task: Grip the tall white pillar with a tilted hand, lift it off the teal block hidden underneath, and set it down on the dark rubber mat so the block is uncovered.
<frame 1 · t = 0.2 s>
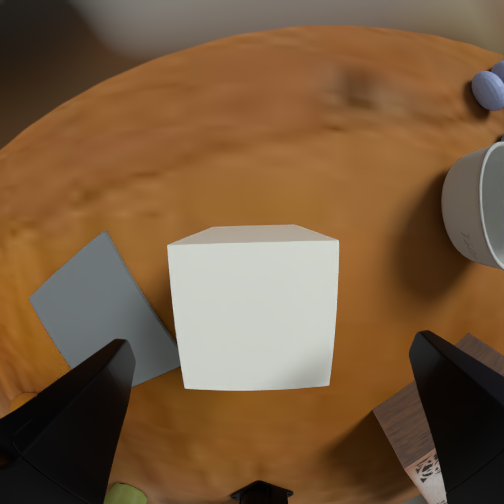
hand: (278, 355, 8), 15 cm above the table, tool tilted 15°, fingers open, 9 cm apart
plant pot: (130, 491, 29), on the table
tall white pillar: (255, 266, 23), on the table
tissue box cover: (440, 421, 26), on the table
mat: (97, 328, 24), on the table
teacup: (472, 208, 22), on the table
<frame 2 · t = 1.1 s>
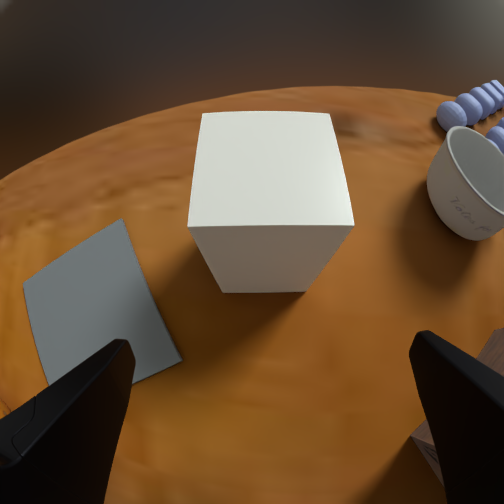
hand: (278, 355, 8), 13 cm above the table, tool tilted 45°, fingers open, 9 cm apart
tall white pillar: (263, 253, 23), on the table
tissue box cover: (490, 449, 15), on the table
mat: (85, 318, 21), on the table
fruit: (8, 429, 16), on the table
teacup: (460, 209, 25), on the table
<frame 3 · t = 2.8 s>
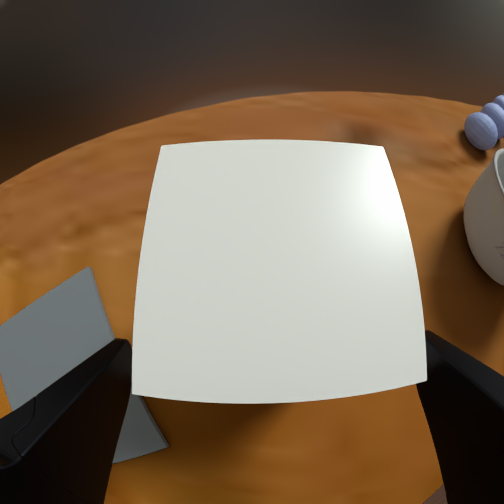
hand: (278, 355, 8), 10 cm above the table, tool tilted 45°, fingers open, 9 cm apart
tall white pillar: (266, 320, 17), on the table
mat: (56, 384, 15), on the table
teacup: (495, 244, 19), on the table
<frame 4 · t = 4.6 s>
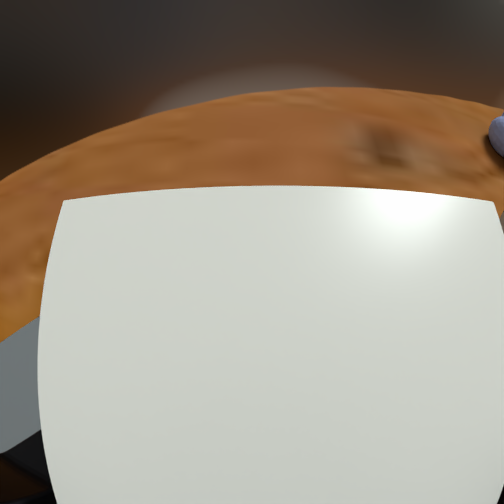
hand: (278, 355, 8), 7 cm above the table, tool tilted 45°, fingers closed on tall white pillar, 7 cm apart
tall white pillar: (268, 380, 13), on the table, touching gripper
mat: (36, 431, 11), on the table
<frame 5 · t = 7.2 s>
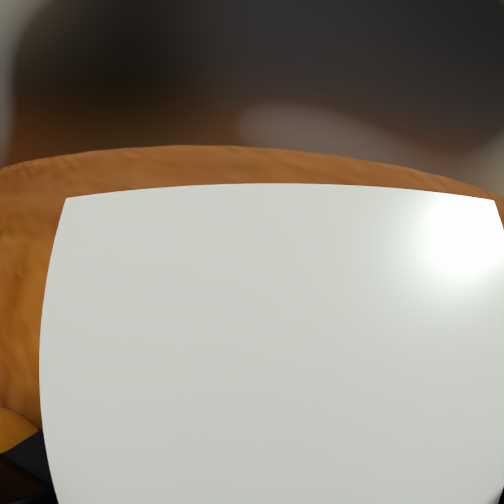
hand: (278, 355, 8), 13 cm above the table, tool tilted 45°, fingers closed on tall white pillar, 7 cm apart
tall white pillar: (269, 379, 13), point 7 cm above the table, touching gripper
fruit: (36, 450, 16), on the table
when the fingers open (8 cm above the table, at t = 9.8 s): tall white pillar drops 1 cm, resting on mat.
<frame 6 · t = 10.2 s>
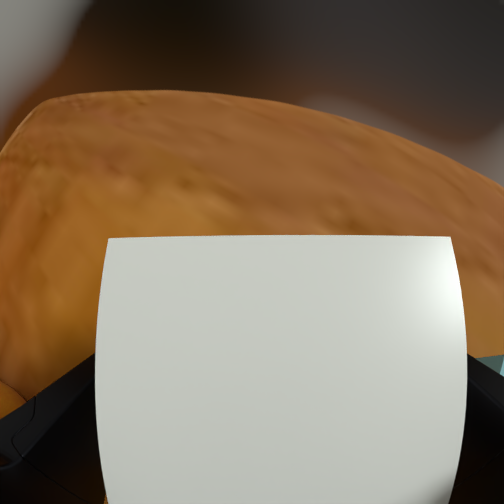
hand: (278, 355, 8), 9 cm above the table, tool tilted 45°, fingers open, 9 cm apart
tall white pillar: (267, 377, 15), resting on mat
block: (492, 390, 12), on the table
fruit: (28, 436, 13), on the table
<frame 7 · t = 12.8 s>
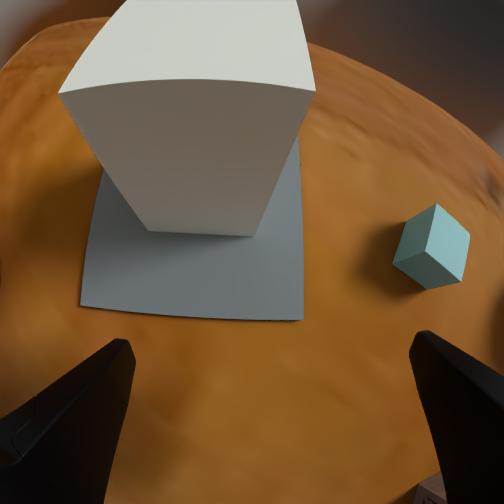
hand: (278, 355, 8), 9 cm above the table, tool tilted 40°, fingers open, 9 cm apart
tall white pillar: (205, 185, 18), resting on mat
block: (432, 249, 17), on the table
mat: (194, 206, 18), on the table
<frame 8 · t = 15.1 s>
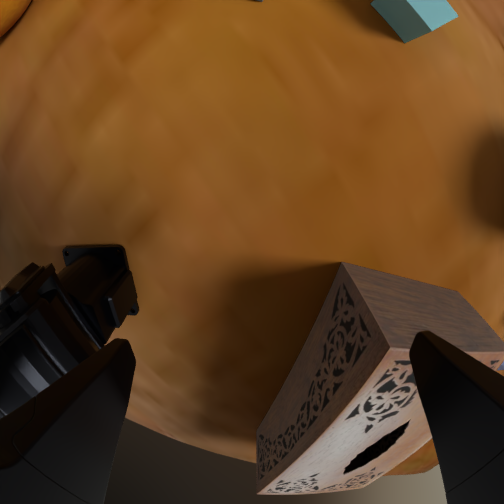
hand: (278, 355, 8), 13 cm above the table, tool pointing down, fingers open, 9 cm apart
tissue box cover: (349, 375, 27), on the table
block: (414, 7, 11), on the table
fruit: (18, 5, 10), on the table
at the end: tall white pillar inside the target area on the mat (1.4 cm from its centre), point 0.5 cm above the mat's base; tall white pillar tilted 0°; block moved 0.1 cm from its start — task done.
